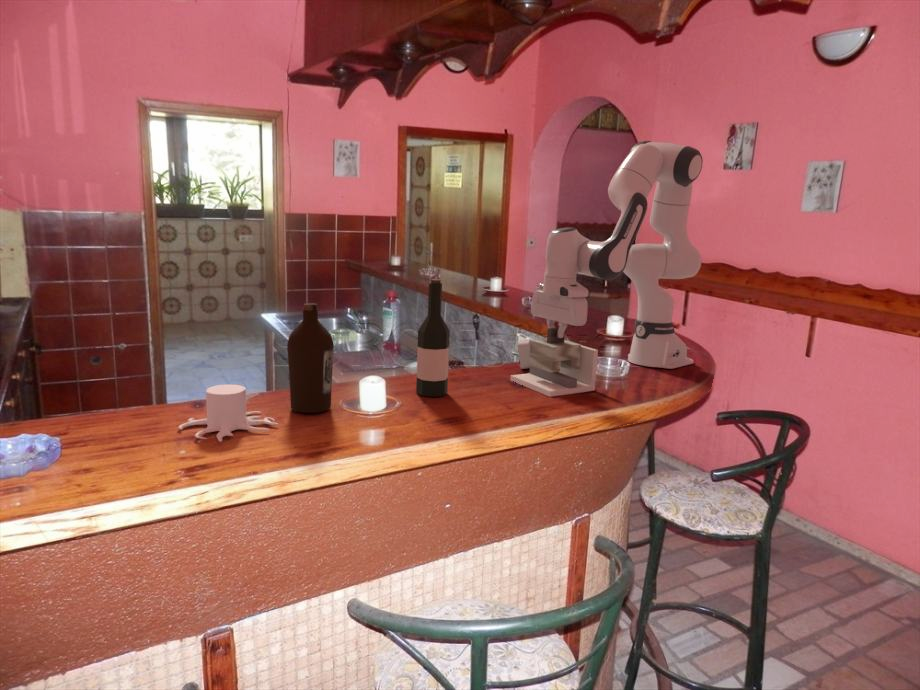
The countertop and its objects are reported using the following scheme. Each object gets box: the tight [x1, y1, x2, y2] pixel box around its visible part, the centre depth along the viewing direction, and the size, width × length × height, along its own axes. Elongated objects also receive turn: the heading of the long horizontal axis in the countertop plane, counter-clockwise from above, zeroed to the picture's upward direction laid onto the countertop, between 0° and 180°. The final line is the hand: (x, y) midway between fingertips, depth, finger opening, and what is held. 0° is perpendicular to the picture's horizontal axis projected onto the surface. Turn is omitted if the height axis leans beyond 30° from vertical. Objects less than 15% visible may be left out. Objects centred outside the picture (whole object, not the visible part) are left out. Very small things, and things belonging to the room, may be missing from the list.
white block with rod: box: [517, 338, 532, 370], centre depth 201 cm, size 8×10×10 cm
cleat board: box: [510, 344, 599, 398], centre depth 183 cm, size 16×18×12 cm
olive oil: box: [286, 302, 335, 414], centre depth 153 cm, size 11×11×25 cm
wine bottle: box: [415, 278, 451, 398], centre depth 169 cm, size 8×8×30 cm
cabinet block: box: [529, 327, 582, 373], centre depth 182 cm, size 10×10×11 cm
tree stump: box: [177, 383, 279, 443], centre depth 142 cm, size 20×19×8 cm
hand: (555, 336), depth 182 cm, fingers closed on cabinet block, 2 cm apart
